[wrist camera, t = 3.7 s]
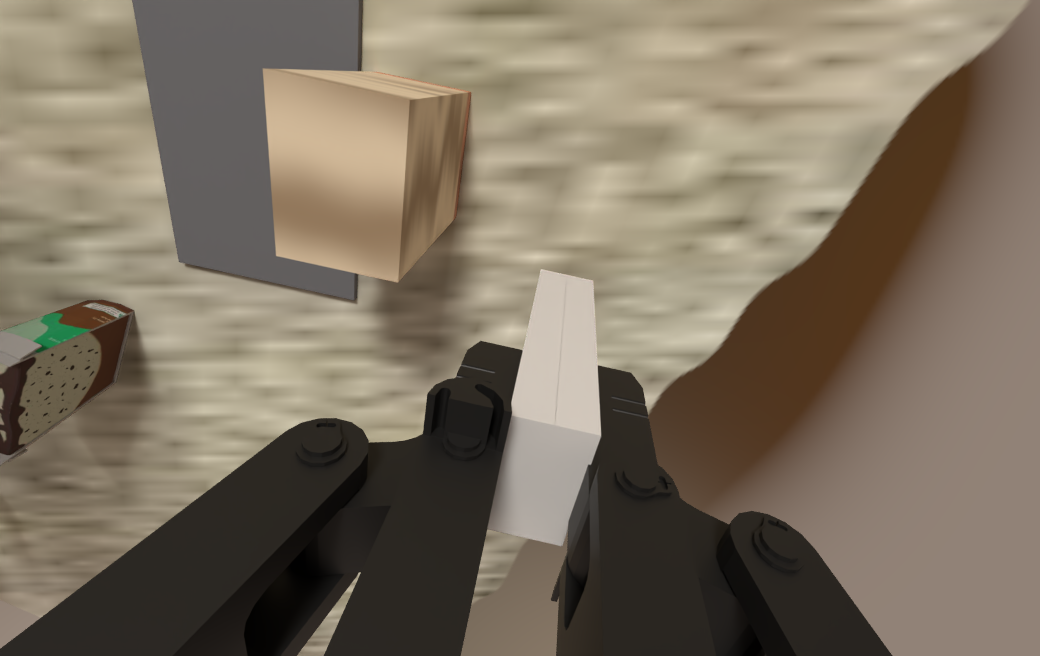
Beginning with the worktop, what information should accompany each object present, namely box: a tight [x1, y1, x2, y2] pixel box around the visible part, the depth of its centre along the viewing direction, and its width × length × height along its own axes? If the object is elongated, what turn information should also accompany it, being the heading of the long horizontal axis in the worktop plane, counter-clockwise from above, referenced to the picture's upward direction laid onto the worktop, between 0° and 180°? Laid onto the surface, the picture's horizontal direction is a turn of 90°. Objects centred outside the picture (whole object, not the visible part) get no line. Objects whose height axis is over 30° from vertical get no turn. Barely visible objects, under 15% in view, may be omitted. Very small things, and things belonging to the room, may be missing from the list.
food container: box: [0, 300, 134, 465], centre depth 37 cm, size 12×6×10 cm, turn 146°
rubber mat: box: [132, 0, 362, 300], centre depth 31 cm, size 24×14×1 cm, turn 169°
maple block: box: [263, 68, 471, 282], centre depth 26 cm, size 8×6×12 cm
